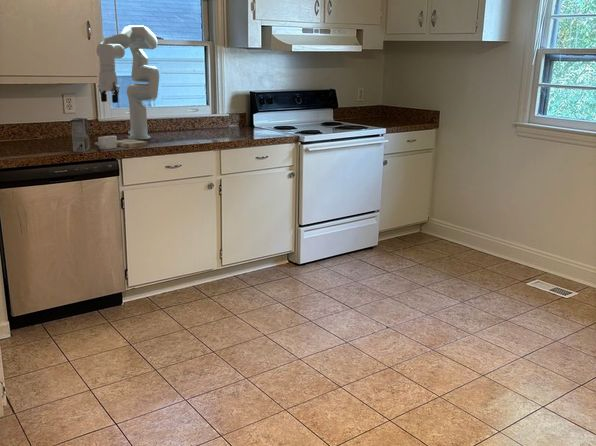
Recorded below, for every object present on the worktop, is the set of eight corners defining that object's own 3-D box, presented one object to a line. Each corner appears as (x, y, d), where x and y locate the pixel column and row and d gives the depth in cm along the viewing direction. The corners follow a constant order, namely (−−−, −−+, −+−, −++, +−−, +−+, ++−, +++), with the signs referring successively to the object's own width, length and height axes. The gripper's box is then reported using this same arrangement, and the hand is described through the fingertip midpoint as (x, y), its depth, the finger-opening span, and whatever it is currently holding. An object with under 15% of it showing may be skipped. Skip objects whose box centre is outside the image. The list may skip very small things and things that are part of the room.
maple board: (111, 144, 332) (111, 141, 332) (129, 142, 341) (129, 138, 341) (129, 147, 323) (129, 144, 322) (147, 145, 332) (147, 141, 332)
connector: (93, 149, 317) (92, 137, 316) (113, 146, 327) (113, 135, 325) (98, 150, 315) (98, 138, 313) (118, 147, 324) (118, 136, 323)
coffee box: (77, 148, 317) (75, 117, 312) (90, 149, 317) (87, 118, 313) (72, 151, 308) (70, 119, 304) (85, 151, 308) (83, 120, 304)
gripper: (91, 68, 314) (93, 101, 318) (111, 69, 304) (113, 103, 308) (103, 68, 320) (105, 100, 324) (124, 69, 309) (125, 102, 314)
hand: (109, 102), depth 316 cm, fingers open, 9 cm apart
